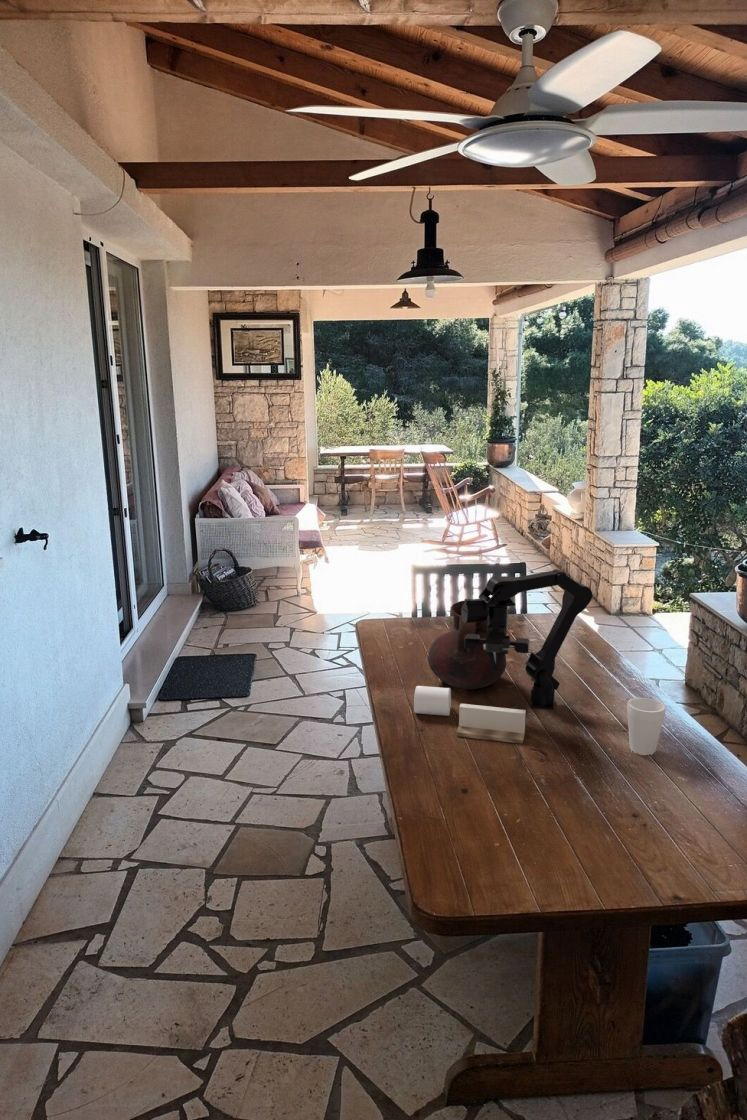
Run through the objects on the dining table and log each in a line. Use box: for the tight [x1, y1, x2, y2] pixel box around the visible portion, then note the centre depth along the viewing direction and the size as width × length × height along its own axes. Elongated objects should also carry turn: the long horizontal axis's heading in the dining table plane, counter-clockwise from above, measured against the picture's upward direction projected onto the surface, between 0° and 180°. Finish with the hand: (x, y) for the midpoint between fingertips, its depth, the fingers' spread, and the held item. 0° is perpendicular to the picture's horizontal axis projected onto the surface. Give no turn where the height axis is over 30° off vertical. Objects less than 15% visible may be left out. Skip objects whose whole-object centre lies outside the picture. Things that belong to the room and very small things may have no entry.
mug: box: [413, 685, 452, 717], centre depth 231 cm, size 12×10×8 cm
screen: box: [456, 703, 527, 745], centre depth 215 cm, size 18×6×7 cm, turn 75°
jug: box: [427, 600, 507, 690], centre depth 249 cm, size 25×25×25 cm
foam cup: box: [626, 697, 667, 756], centre depth 205 cm, size 10×9×13 cm
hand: (495, 670), depth 230 cm, fingers closed
